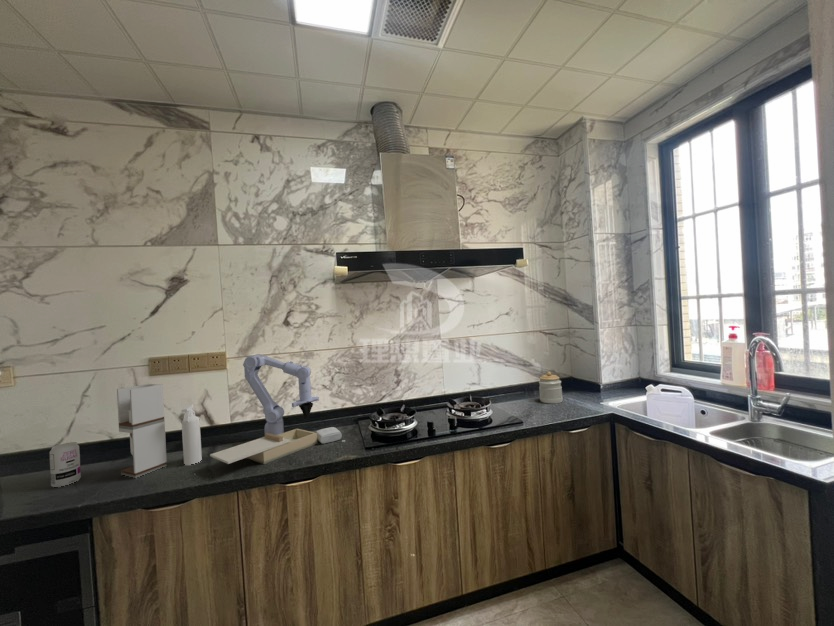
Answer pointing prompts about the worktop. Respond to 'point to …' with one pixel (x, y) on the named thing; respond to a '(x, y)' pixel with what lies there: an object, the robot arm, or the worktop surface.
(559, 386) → the jar
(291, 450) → the box
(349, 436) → the worktop surface
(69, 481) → the supplement can
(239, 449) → the sliding box lid
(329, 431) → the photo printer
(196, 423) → the fire extinguisher
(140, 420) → the white wood-trimmed shelf
